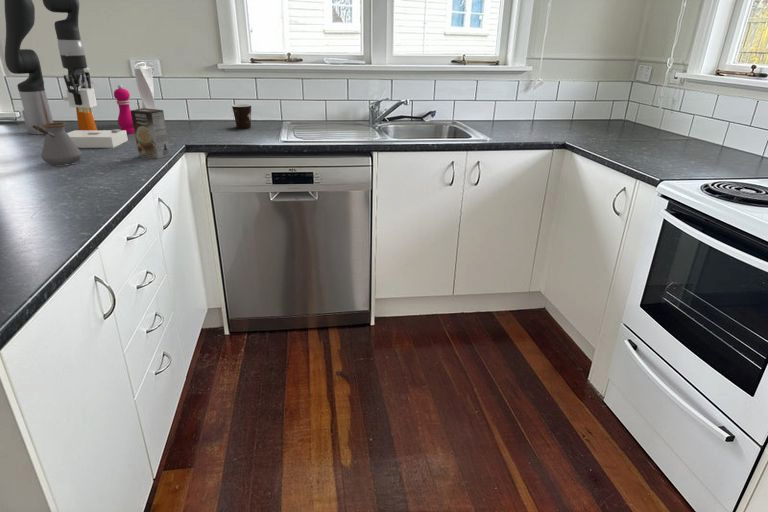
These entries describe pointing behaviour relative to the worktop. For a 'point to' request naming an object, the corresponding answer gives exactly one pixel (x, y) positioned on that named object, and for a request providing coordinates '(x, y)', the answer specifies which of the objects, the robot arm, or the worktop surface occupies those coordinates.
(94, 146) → the socket
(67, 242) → the worktop surface
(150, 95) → the skyscraper
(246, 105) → the coffee mug
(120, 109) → the pepper mill
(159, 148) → the coffee box
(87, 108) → the plug
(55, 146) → the coffee pot
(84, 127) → the spray bottle
